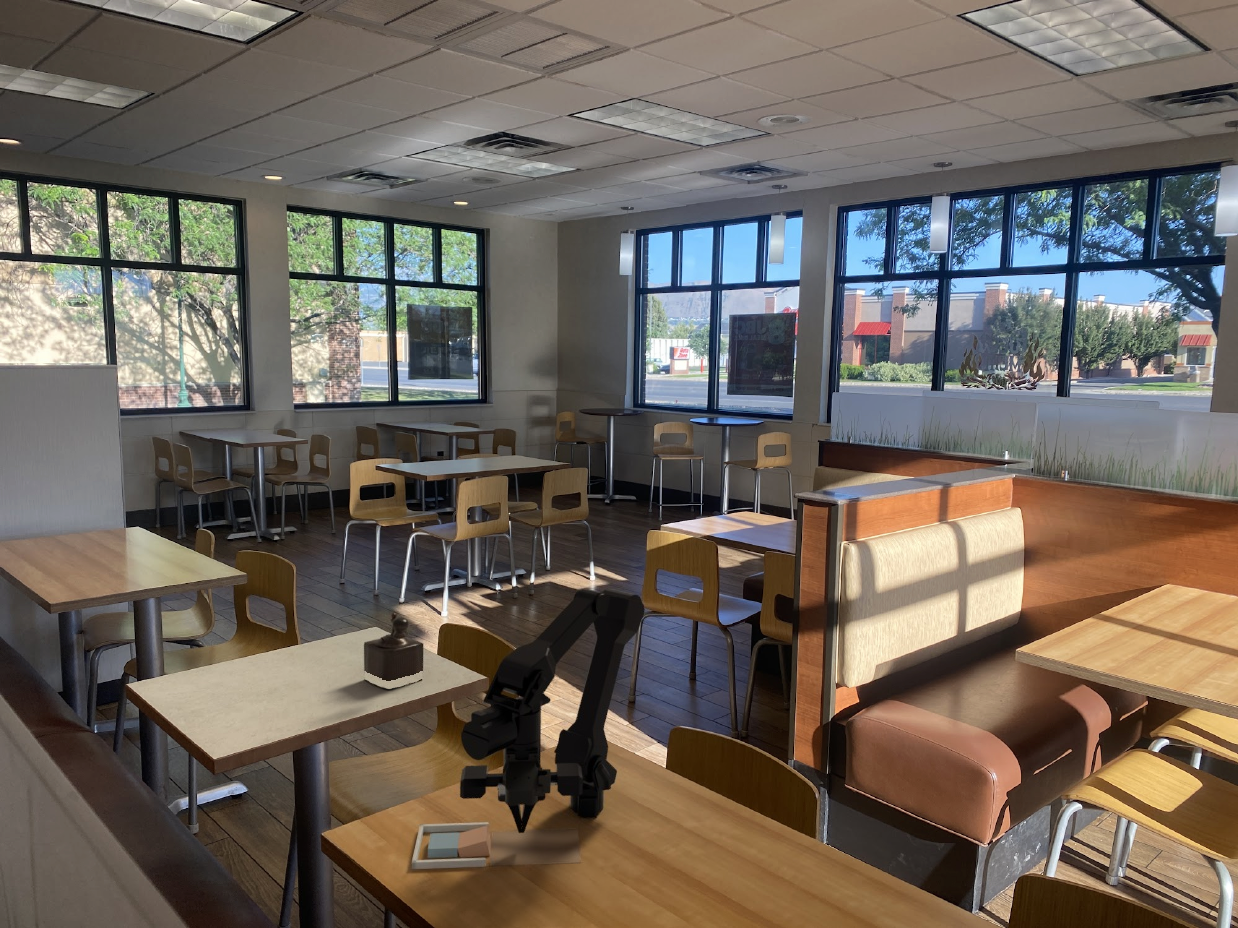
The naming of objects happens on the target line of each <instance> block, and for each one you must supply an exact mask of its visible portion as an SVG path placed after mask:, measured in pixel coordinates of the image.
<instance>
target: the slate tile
mask: <svg viewBox="0 0 1238 928" xmlns="http://www.w3.org/2000/svg"><path fill="white" fill-rule="evenodd" d="M459 833H461V831H458V832H430V834H429V835H430V836H429V841H428V846H427V858H428V859H436V858H437V859H439V858H458V856H459V852H458V849H457V848H458V841H459Z"/></svg>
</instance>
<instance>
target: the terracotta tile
mask: <svg viewBox="0 0 1238 928" xmlns="http://www.w3.org/2000/svg"><path fill="white" fill-rule="evenodd" d="M458 833H459V832H458ZM457 849H458V856H459V858H467V857H469V858H471V857H490V849H491V834H490V829H489V830H488V826H484V827H480V828H476V829H473V830H469V831H461V832H460V833H459V841H458V848H457Z"/></svg>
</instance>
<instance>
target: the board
mask: <svg viewBox="0 0 1238 928" xmlns="http://www.w3.org/2000/svg"><path fill="white" fill-rule="evenodd" d="M490 838H491V849H490V856H489V859H488V860H489V861H488V862H489V863H488V867H505V866H506V867H507V866H508V867H509V866H510V867H511V866H533V865H534V866H536V865H555V864H556V865H563V864H582V859H581V857H582V855H581V849H580V848H581V847H580V838H579V830H578V828H576V827H575V828H573V827H572V828H549V829H547V828H546V829H544V828H542V829H525V831H524V833H519V832H518V829H516V830H491V834H490Z"/></svg>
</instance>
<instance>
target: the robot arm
mask: <svg viewBox="0 0 1238 928" xmlns="http://www.w3.org/2000/svg"><path fill="white" fill-rule="evenodd" d="M644 615H645V604H644V603H643V600H642V598H641V595H638V594H636V593H630V592H627V591H621V590H617V589H613V588H606V589H604V590H602V591H597V590H593V589H590V588H589V589H588V588H582V589H578V590H577V591H576V592H575V594H574V596H573V599H572V601H570V602H569V604H567V606H566V607H565V608H564V609H563V610H562V611H561V612H560V613H559V614H558V615H557V616H556V617H555V618H554V620H552V622H551V623H550V624H549V625H548V626H546V628H545V629H544V630H543V631H542V632H541V634H540V635H539V636H537V638H536V639H534V640H533V641H532V642H530V643H529V642H528V643H526V644H524V645H520V646H518V647H517V648H515V649H514V650H512V651H511V652H510V653H509V654H508V655H506V656H505V657H504V658H503V659H502V661H501V662H500V663H499V665H498V667H497V670H496V673H495V675H494V676H493V679H492V681H491V684H490V686H488V690H487V692H486V694H485V696H484V698H483V703H484V704H487V705H489V706H488V707H485V708H483V709H480V710H476V711H474V712H472V713H471V714H470V716H471V720H470V721H468V722H466V723H465V724H464V725H463V728H462V731H461V732H460V738H461V744H462V747H463V749H464V751H465V752H466V754H467V755H468V756H469V757H471V758H472V759H473V760H476V761H481V760H483V759H486V758H488V757H491V756H492V755H495V754H497V753H499V752H501V751H503V767H502V773H488V765H487V764H486V765H482V764H481V765H465V766H464V767H463V768H462V770H461V776H460V780H459V782H460V783H459V797H460V798H461V799H463V800H465V799H468V800H469V799H481V798H482V797H483V796H484V795H486V793H487V788H493V787H494V788H497V791H498V792H497V801H498V802H500V803H502V802H504V804H506V805H507V806H508V809H509V810H510V812H511V815H512V817H513V820H514V823H515V826H516V828H517V829H516V830H518V832H519V833H524V831H525V830H527V825H528V823H529V820H530V817H531V814H532V812H533V809H534V808H535V806H536V804H537V803H538V802H541V801H544V800H546V795H547V794H550V793H551V789H552V788H551V786H557V788H556V791H557V793H559V794H560V795H561V796H562V797H567V796H569V797H570V798H569V799H570V803H569V805H570V806H569V807H570V810H571V812H573V813H575V814H576V815H577V817H579V818H580V819H595V818H597V816H599V813H601V812H602V811H603V810H604V794H605V793H604V791H609V790H611V789H612V785H613V784H615V783H616V777H617V773H618V770H617V769H616V768H615V767H614V766H613V765H612V764H611V763H610V762H609V761H608V760H607V758H608V753H609V744H608V741H607V737H606V733H605V724H606V720H607V717H608V712H609V709H610V705H611V701H612V696H613V693H614V690H615V689H614V688H615V685H616V682H617V676H618V673H619V670H620V669H619V668H620V664H621V661H622V658H623V653H624V650H625V649H624V648H625V647H626V644H628V642H630V640H631V639H632V638H633V637H634V636H635V635H636V634H637V633H638V631H639V627H640V625H641V623H642V619H643V617H644ZM591 625H593V628H594V632H595V635H596V641H595V644H594V649H593V653H592V656H591V660H590V664H589V668H588V672H587V675H586V678H585V679H586V680H585V683H584V687H583V690H582V695H581V699H580V702H579V706H578V710H577V714H576V718H575V721H573V723H572V724H571V725H570V726H569V727H568V729H564V728H562V729H561V731H560V732H559V735H558V741H557V744H556V747H555V749H554V751H553V753H554V754H555V756H554V764H555V767H556V770H555V771H551V769H549V768H545V769H544V768H543V767H542V766H541V758H542V755H541V752H542V751H541V748H542V747H541V744H542V741H541V740H542V737H541V735H542V732H541V731H542V729H541V728H542V707H543V706H545V705H547V704H549V703H550V702H551V698H550V697H549V696H547V695H546V694H545V692H546V690H547V689H548V687H549V686H550V685H551V684H552V682H553V681H554V679H555V676H556V668H557V664H558V663H559V661H560V660H561V659H562V658H563V657H564V655H566V653H567V652H568V651H569V650H570V649H571V648H572V646H573V645H574V644H575V643H576V642H577V641H578V640H579V639H580V637H581V636H582V635H583V634H584V633H585V632H586V631H587V630H588V629H589V627H590V626H591ZM503 691H504V692H506V693H510V694H512V695H515V696H518V697H516V698H514V697H512V696H509V695H505V694H503V693H502V692H503ZM522 805H523V806H522ZM521 806H522V810H521ZM521 811H522V813H521Z"/></svg>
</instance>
